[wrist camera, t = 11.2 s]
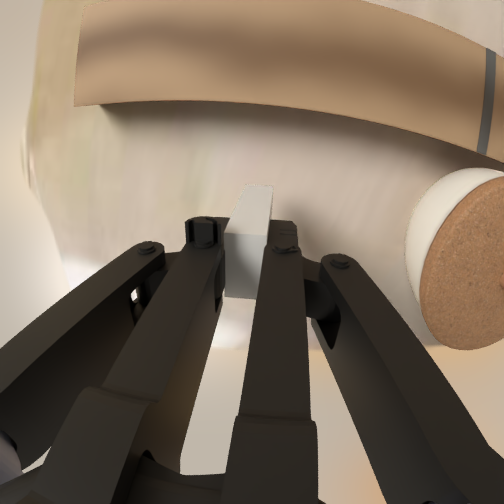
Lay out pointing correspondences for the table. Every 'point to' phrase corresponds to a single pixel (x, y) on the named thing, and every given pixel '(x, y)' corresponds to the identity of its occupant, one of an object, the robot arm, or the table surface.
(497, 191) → the lidded jar
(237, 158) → the table surface
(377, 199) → the table surface
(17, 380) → the robot arm
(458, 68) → the board
